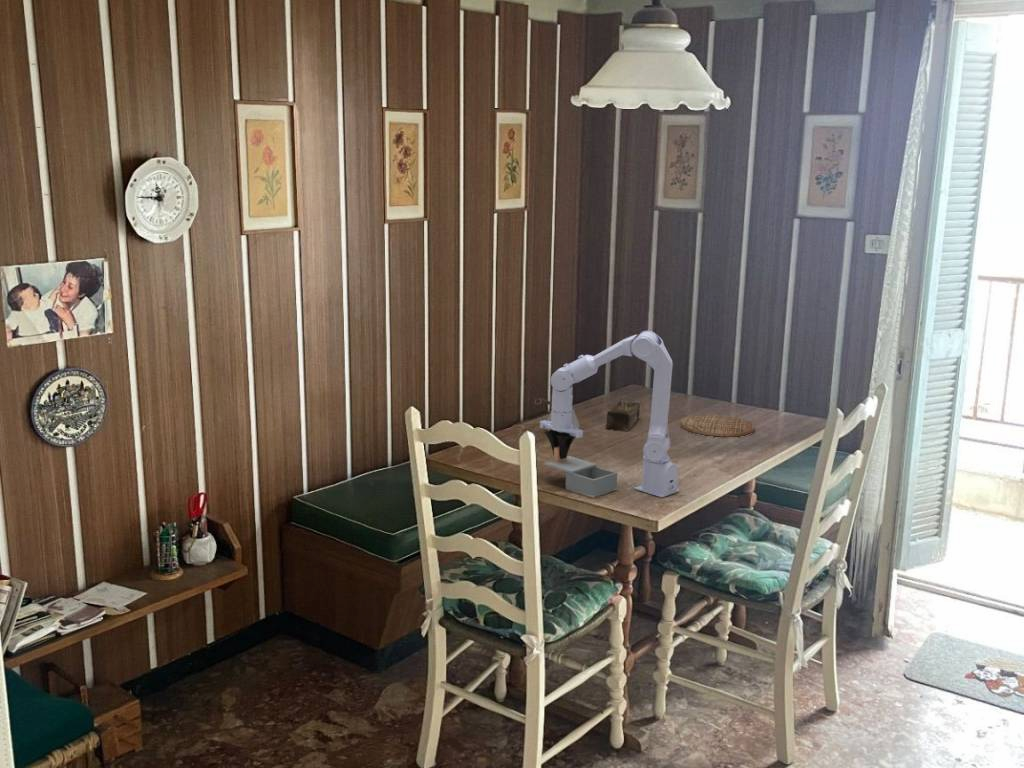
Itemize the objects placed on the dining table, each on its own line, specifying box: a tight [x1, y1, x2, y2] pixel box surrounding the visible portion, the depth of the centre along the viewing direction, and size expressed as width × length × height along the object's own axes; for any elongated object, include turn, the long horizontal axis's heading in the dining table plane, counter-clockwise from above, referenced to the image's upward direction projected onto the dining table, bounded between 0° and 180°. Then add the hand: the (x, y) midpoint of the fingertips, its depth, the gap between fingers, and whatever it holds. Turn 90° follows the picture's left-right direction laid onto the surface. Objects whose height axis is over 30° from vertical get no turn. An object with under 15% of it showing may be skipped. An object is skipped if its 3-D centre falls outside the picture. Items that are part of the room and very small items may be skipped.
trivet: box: [679, 414, 756, 438], centre depth 346 cm, size 25×25×2 cm
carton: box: [564, 466, 618, 499], centre depth 278 cm, size 10×10×5 cm
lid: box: [543, 446, 598, 473], centre depth 282 cm, size 10×10×5 cm
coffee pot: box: [534, 395, 581, 432], centre depth 329 cm, size 21×12×15 cm, turn 145°
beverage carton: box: [605, 400, 641, 432], centre depth 348 cm, size 8×19×7 cm, turn 161°
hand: (560, 457), depth 285 cm, fingers closed
